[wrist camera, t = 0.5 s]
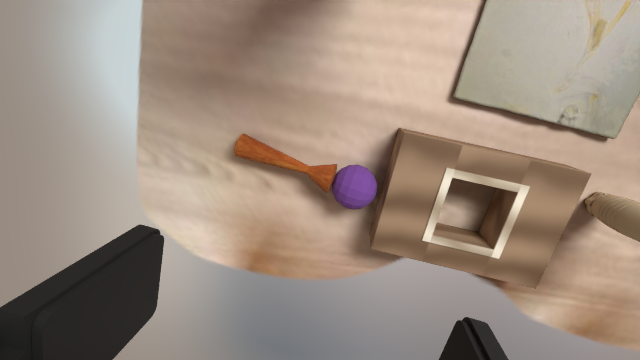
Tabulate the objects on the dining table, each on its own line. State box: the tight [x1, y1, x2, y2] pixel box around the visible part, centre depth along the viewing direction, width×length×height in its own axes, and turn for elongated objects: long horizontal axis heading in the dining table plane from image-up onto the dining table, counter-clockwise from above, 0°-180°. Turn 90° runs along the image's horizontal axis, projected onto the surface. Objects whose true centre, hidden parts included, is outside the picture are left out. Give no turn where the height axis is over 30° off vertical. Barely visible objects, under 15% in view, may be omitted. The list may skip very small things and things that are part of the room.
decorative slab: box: [453, 0, 640, 139], centre depth 35 cm, size 27×21×2 cm
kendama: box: [234, 134, 377, 209], centre depth 43 cm, size 6×6×20 cm
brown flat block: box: [370, 128, 591, 289], centre depth 41 cm, size 16×22×5 cm
